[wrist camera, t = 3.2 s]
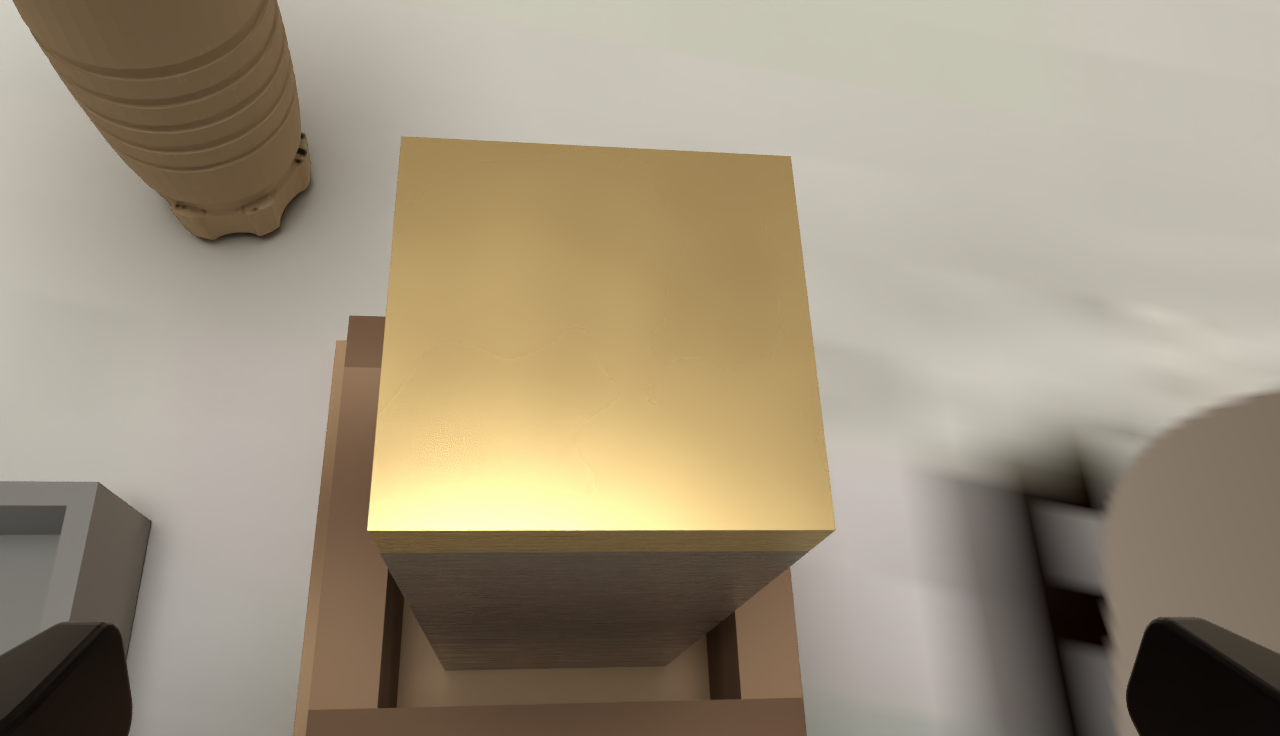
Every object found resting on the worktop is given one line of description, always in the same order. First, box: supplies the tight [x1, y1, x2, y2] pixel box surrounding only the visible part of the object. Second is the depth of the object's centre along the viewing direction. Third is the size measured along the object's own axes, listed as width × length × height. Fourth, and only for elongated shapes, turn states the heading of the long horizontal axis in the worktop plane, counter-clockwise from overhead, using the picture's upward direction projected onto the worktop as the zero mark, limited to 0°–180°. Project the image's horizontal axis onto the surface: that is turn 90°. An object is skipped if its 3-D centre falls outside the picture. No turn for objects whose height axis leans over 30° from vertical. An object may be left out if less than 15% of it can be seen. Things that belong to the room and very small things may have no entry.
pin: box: [367, 137, 836, 671], centre depth 13 cm, size 4×4×10 cm
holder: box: [293, 316, 807, 736], centre depth 17 cm, size 9×9×3 cm
